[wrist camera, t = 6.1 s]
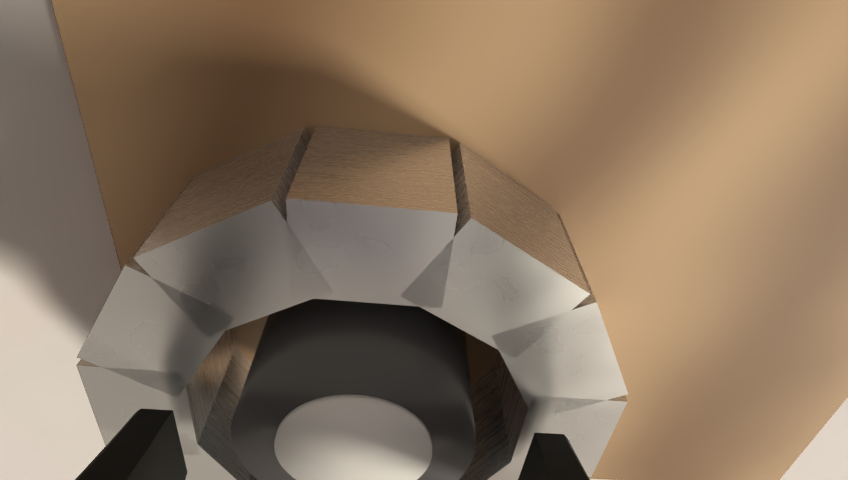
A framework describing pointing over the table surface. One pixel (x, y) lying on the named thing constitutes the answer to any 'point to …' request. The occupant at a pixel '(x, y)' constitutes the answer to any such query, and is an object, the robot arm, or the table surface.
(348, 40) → the board
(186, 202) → the grey faceted ring
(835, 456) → the table surface
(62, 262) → the table surface
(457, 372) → the cap
